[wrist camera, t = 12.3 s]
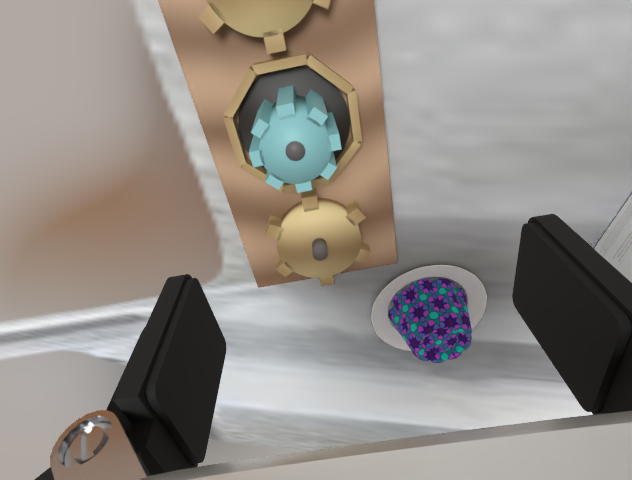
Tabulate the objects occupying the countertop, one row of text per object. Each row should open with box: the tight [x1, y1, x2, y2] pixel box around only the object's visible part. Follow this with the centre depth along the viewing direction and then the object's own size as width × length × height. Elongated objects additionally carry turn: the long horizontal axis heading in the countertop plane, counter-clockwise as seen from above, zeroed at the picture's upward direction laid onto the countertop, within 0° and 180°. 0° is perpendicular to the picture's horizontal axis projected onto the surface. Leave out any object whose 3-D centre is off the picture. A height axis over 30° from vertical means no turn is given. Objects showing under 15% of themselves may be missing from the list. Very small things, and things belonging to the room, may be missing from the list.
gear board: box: [158, 0, 397, 288], centre depth 27 cm, size 28×13×4 cm, turn 11°
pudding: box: [371, 265, 487, 363], centre depth 39 cm, size 12×12×5 cm
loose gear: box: [249, 85, 342, 193], centre depth 26 cm, size 6×6×5 cm
